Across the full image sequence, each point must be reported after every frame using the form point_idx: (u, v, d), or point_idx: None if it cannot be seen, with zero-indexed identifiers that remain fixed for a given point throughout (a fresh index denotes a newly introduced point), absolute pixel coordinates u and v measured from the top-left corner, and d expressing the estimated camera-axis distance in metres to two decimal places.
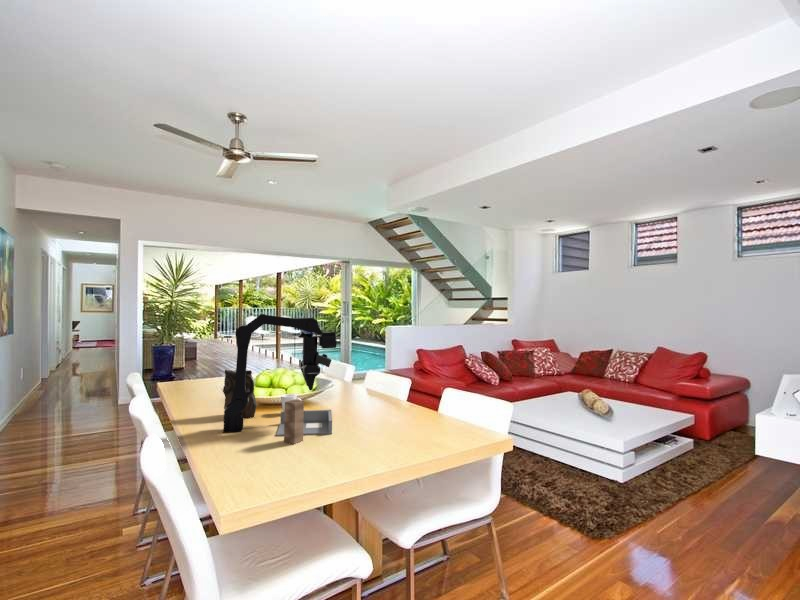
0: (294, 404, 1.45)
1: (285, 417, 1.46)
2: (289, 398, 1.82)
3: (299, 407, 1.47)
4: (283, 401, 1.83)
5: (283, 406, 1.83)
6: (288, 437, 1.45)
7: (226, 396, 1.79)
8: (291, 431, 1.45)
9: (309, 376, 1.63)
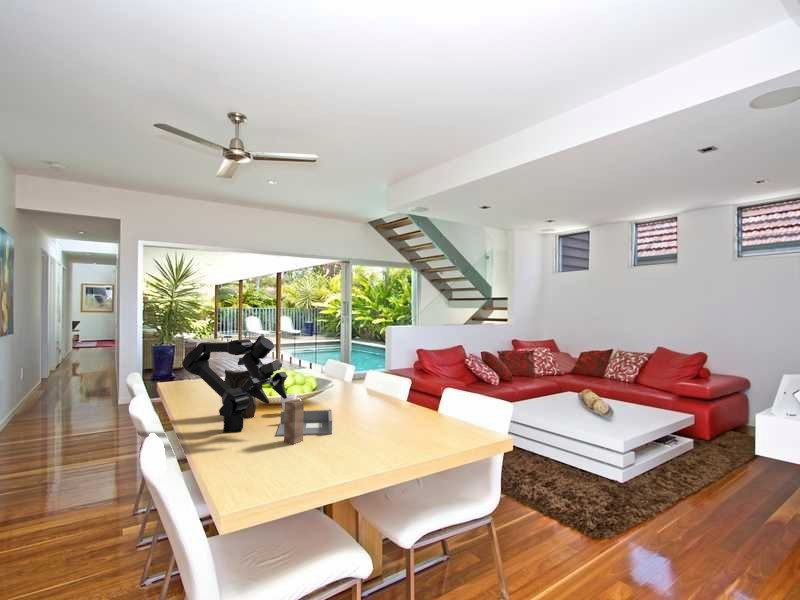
0: (294, 404, 1.45)
1: (285, 417, 1.46)
2: (289, 398, 1.82)
3: (299, 407, 1.47)
4: (283, 401, 1.83)
5: (283, 406, 1.83)
6: (288, 437, 1.45)
7: None
8: (291, 431, 1.45)
9: (256, 392, 1.48)
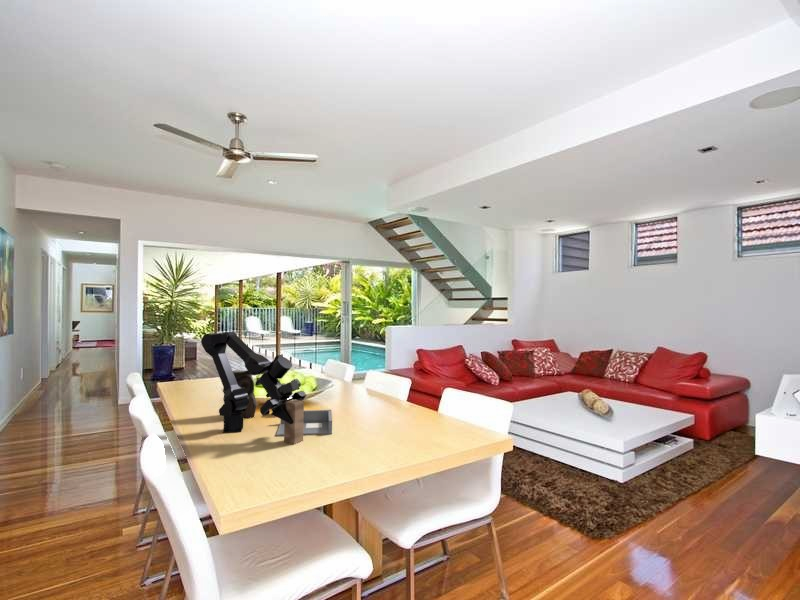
0: (294, 404, 1.45)
1: None
2: None
3: (299, 407, 1.47)
4: None
5: None
6: (288, 437, 1.45)
7: None
8: (291, 431, 1.45)
9: (280, 412, 1.46)
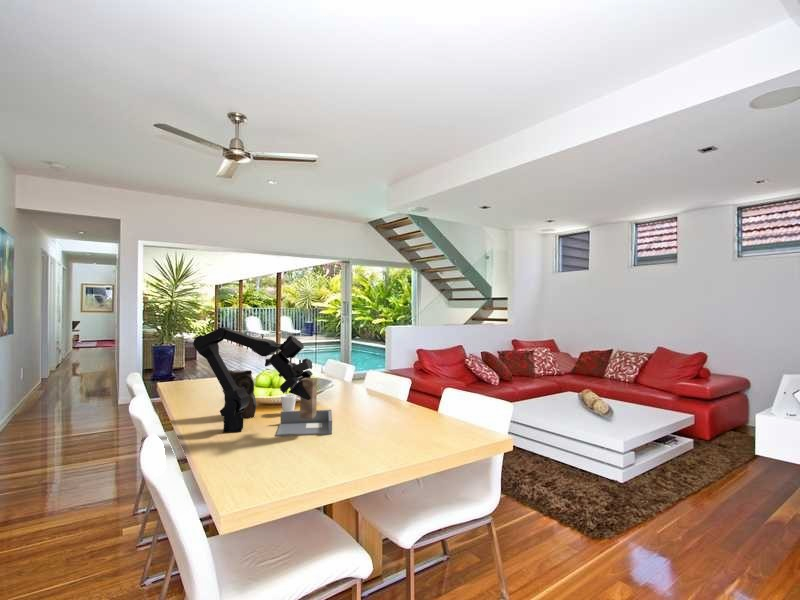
0: (311, 381, 1.54)
1: None
2: (289, 398, 1.82)
3: (314, 384, 1.56)
4: (283, 401, 1.83)
5: (283, 406, 1.83)
6: (305, 412, 1.54)
7: None
8: (308, 407, 1.54)
9: (297, 390, 1.53)
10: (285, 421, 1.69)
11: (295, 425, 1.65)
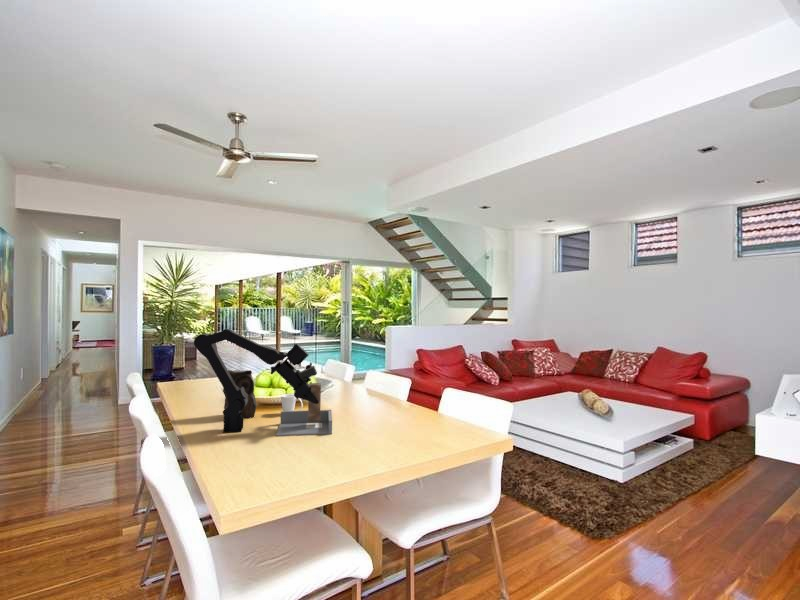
0: (319, 386, 1.64)
1: None
2: (289, 398, 1.82)
3: None
4: (283, 401, 1.83)
5: (283, 406, 1.83)
6: (313, 415, 1.63)
7: None
8: (316, 410, 1.63)
9: (306, 395, 1.61)
10: (285, 421, 1.69)
11: (295, 425, 1.65)
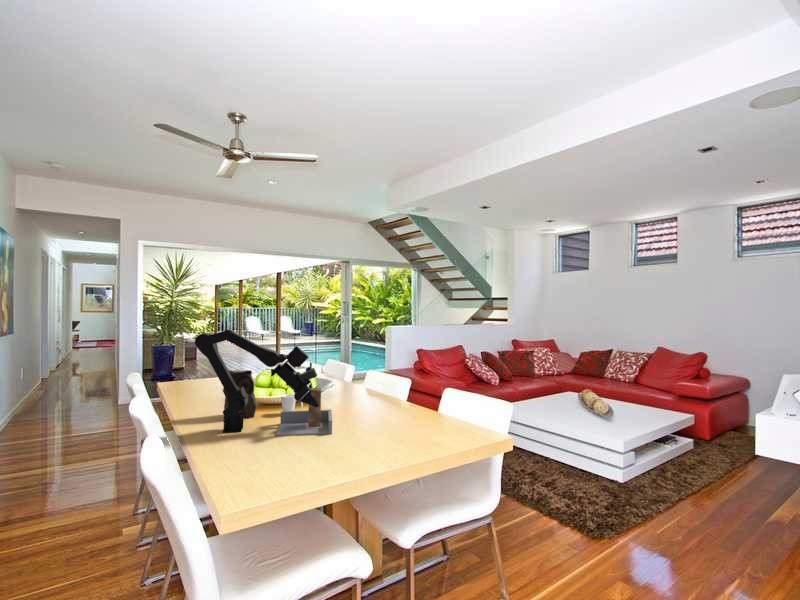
0: (320, 391, 1.64)
1: None
2: (289, 398, 1.82)
3: None
4: (283, 401, 1.83)
5: (283, 406, 1.83)
6: (313, 421, 1.63)
7: (226, 396, 1.79)
8: (316, 415, 1.64)
9: (306, 398, 1.60)
10: (285, 421, 1.69)
11: (295, 425, 1.65)
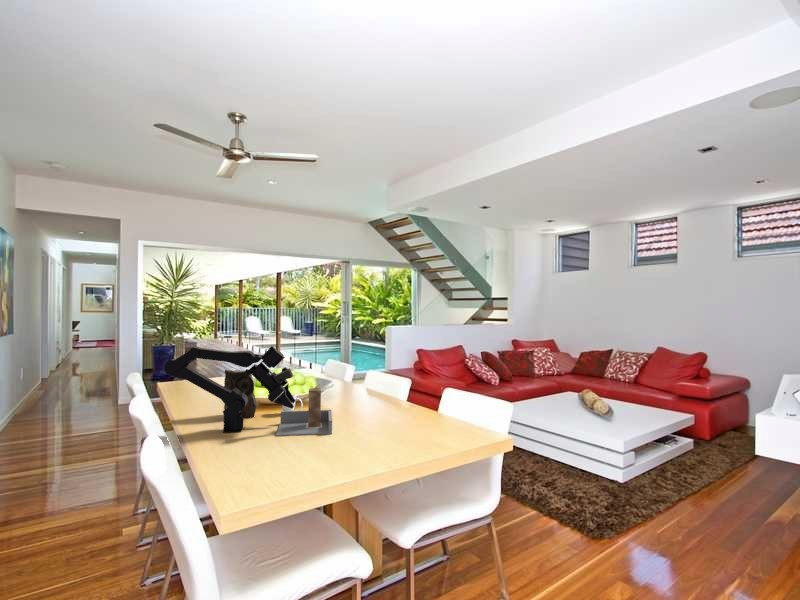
0: (319, 391, 1.64)
1: (309, 404, 1.63)
2: None
3: None
4: None
5: (283, 406, 1.83)
6: (313, 421, 1.63)
7: None
8: (316, 416, 1.63)
9: (280, 399, 1.58)
10: (285, 421, 1.69)
11: (295, 425, 1.65)
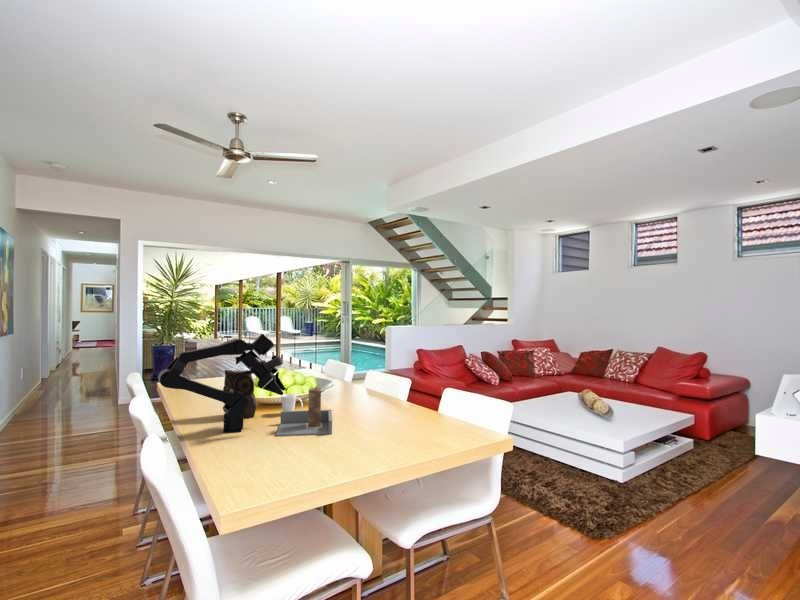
0: (319, 391, 1.64)
1: (309, 404, 1.63)
2: (289, 398, 1.82)
3: None
4: (283, 401, 1.83)
5: (283, 406, 1.83)
6: (313, 421, 1.63)
7: None
8: (316, 416, 1.63)
9: (270, 386, 1.59)
10: (285, 421, 1.69)
11: (295, 425, 1.65)
